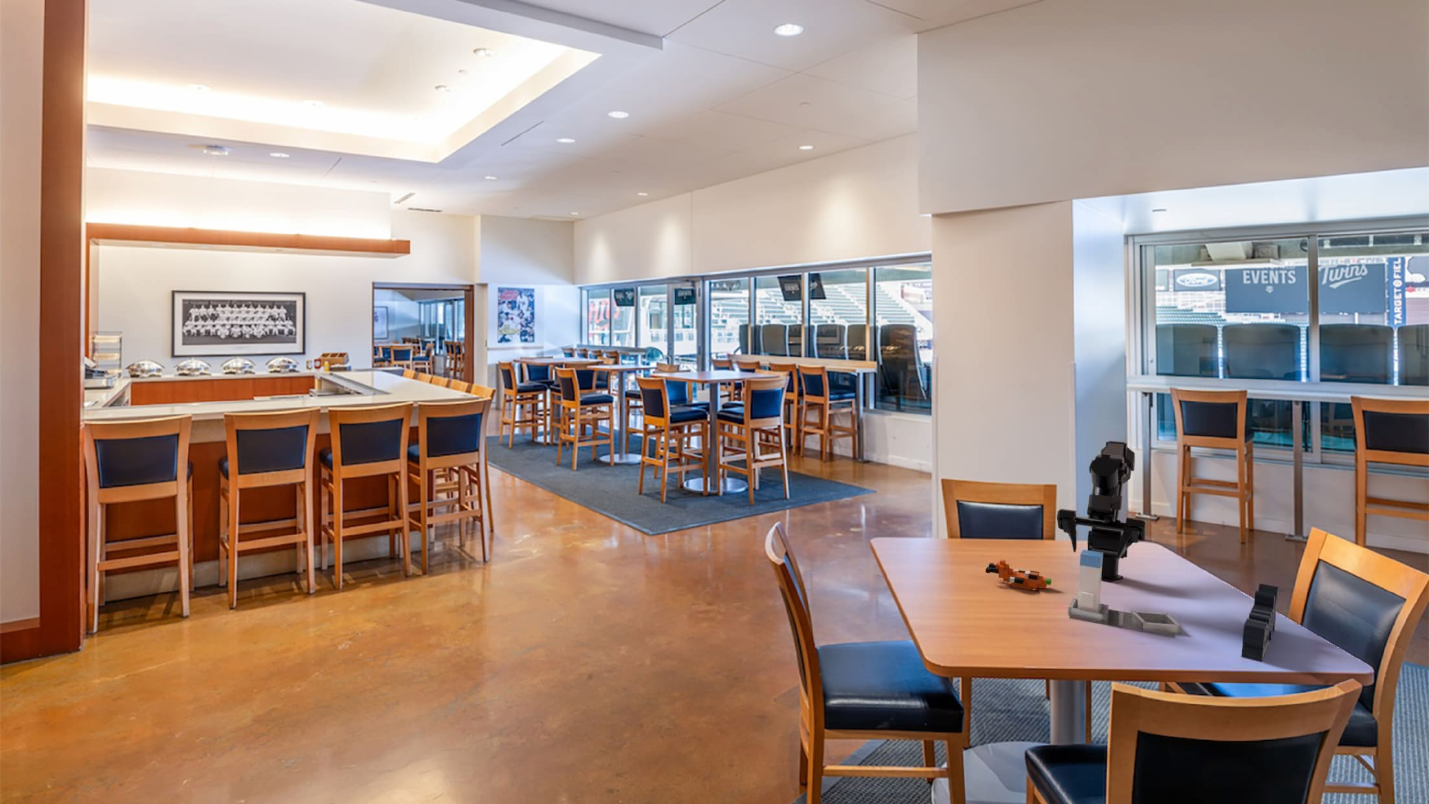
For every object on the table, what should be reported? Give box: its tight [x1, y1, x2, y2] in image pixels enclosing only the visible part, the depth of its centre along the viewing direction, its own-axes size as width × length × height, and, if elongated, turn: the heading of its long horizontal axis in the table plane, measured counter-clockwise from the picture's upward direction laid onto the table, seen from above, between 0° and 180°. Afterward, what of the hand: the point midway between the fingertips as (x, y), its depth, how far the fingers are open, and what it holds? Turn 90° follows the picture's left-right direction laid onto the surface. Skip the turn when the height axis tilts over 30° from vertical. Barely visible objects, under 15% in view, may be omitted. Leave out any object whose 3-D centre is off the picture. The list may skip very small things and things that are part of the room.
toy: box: [985, 558, 1052, 591], centre depth 185 cm, size 8×6×15 cm
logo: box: [1240, 582, 1279, 663], centre depth 151 cm, size 24×3×10 cm, turn 137°
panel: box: [1069, 607, 1176, 639], centre depth 162 cm, size 20×11×1 cm, turn 60°
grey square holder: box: [1067, 598, 1110, 622], centre depth 166 cm, size 7×7×2 cm
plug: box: [1077, 549, 1103, 613], centre depth 165 cm, size 5×4×14 cm
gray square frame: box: [1130, 610, 1182, 635], centre depth 159 cm, size 7×7×2 cm
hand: (1096, 554), depth 171 cm, fingers open, 9 cm apart
